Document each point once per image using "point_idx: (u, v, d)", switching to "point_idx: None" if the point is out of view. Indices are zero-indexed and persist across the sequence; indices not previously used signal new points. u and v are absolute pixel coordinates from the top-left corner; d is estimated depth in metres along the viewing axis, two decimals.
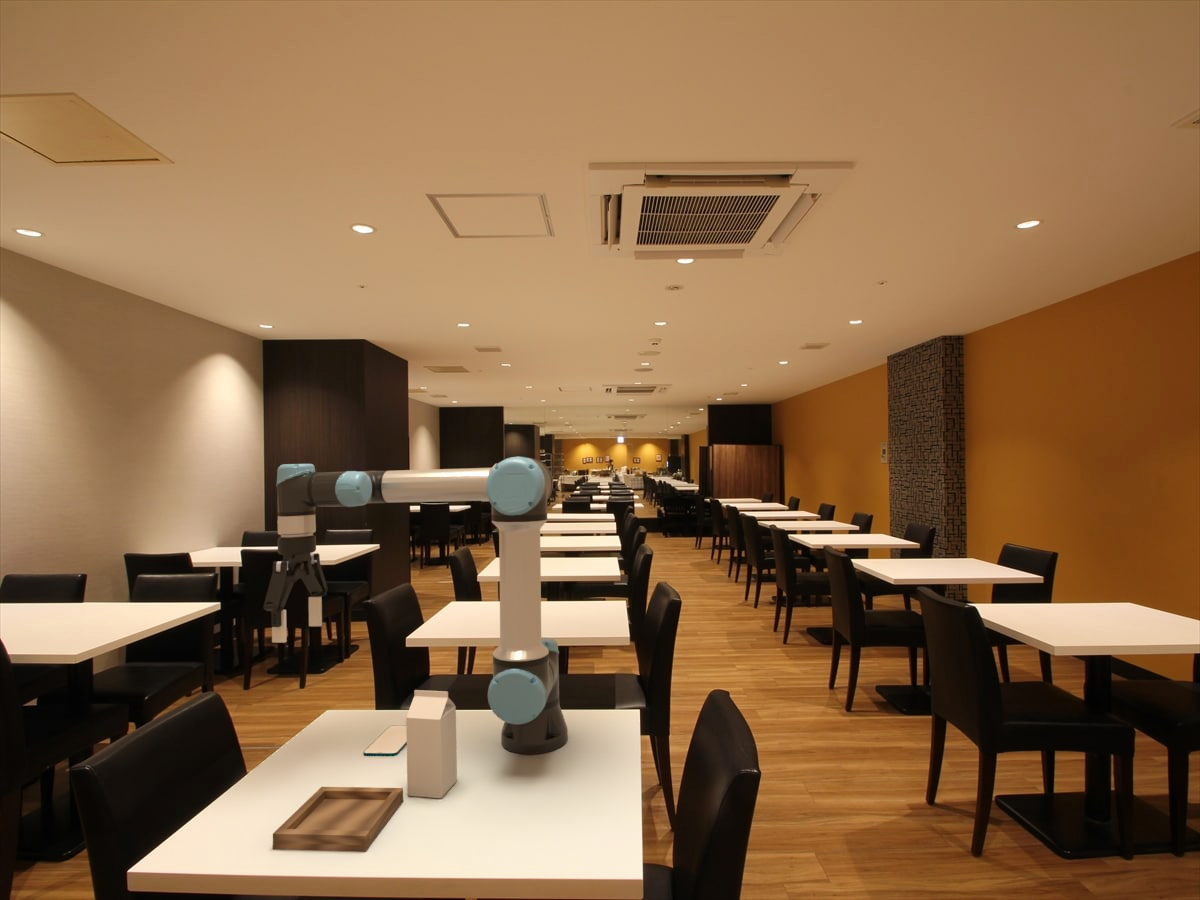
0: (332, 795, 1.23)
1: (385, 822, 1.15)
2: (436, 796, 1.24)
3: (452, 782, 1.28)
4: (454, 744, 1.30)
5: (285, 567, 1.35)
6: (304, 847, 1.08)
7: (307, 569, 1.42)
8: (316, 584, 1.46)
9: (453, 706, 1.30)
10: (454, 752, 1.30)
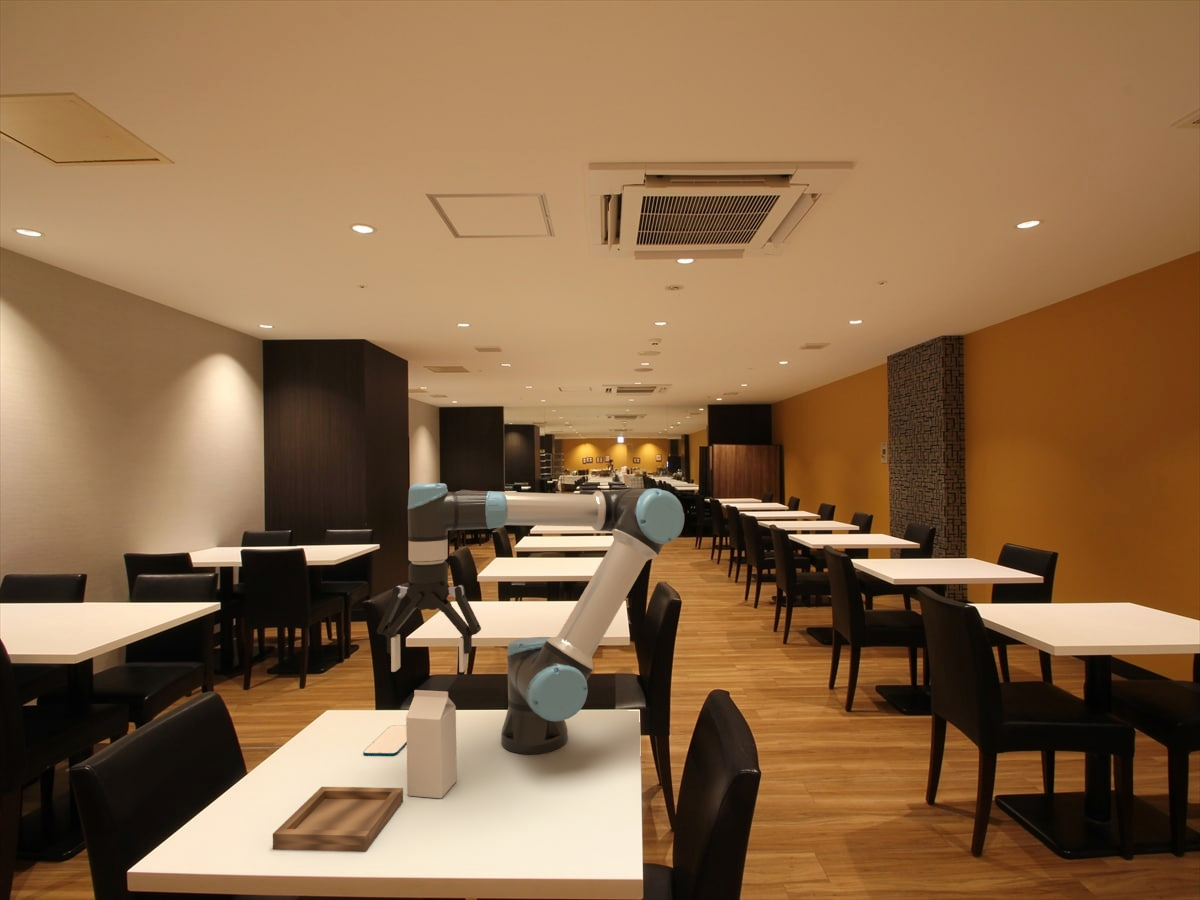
0: (332, 795, 1.23)
1: (385, 822, 1.15)
2: (436, 796, 1.24)
3: (452, 782, 1.28)
4: (454, 744, 1.30)
5: (395, 593, 1.28)
6: (304, 847, 1.08)
7: None
8: (453, 622, 1.27)
9: (453, 706, 1.30)
10: (454, 752, 1.30)
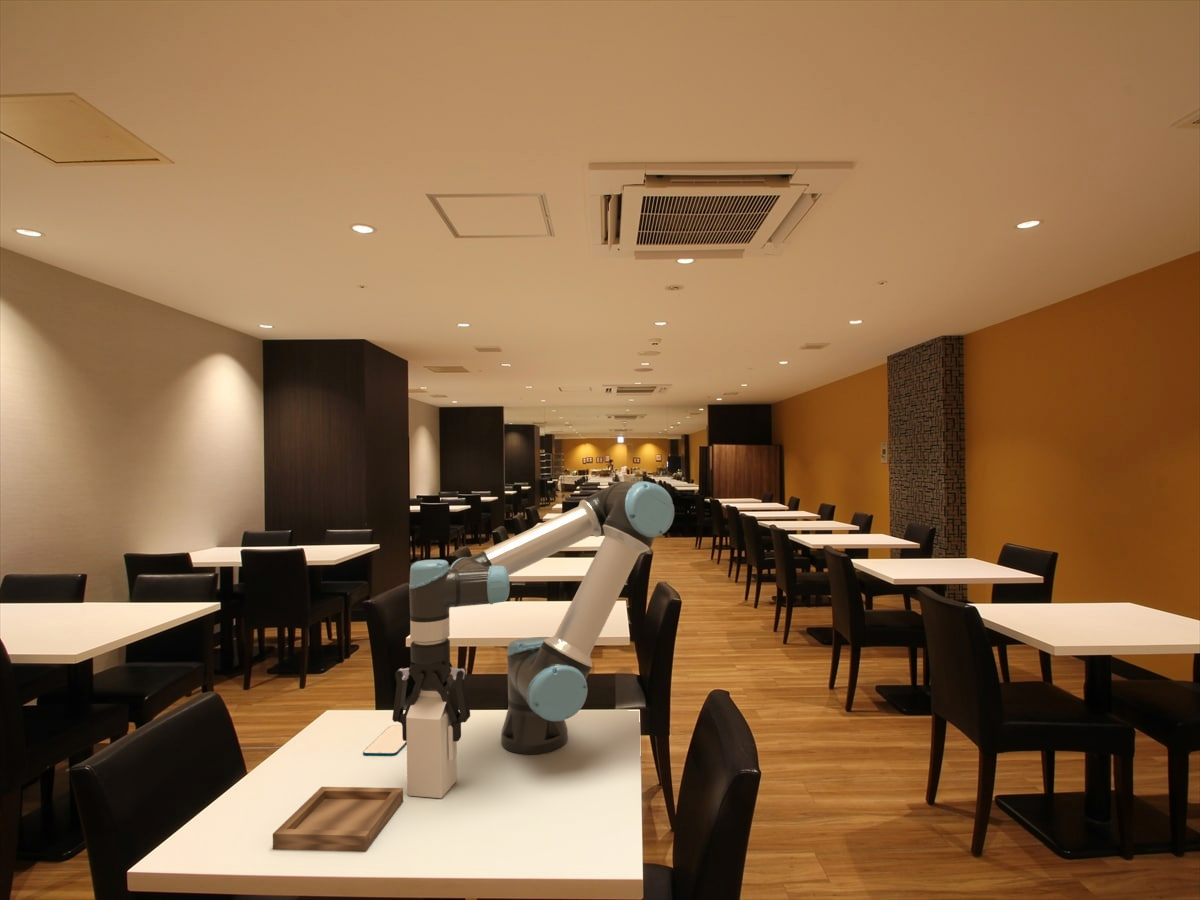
0: (332, 795, 1.23)
1: (385, 822, 1.15)
2: (436, 796, 1.24)
3: (452, 782, 1.28)
4: None
5: (398, 677, 1.28)
6: (304, 847, 1.08)
7: None
8: (447, 707, 1.27)
9: None
10: None
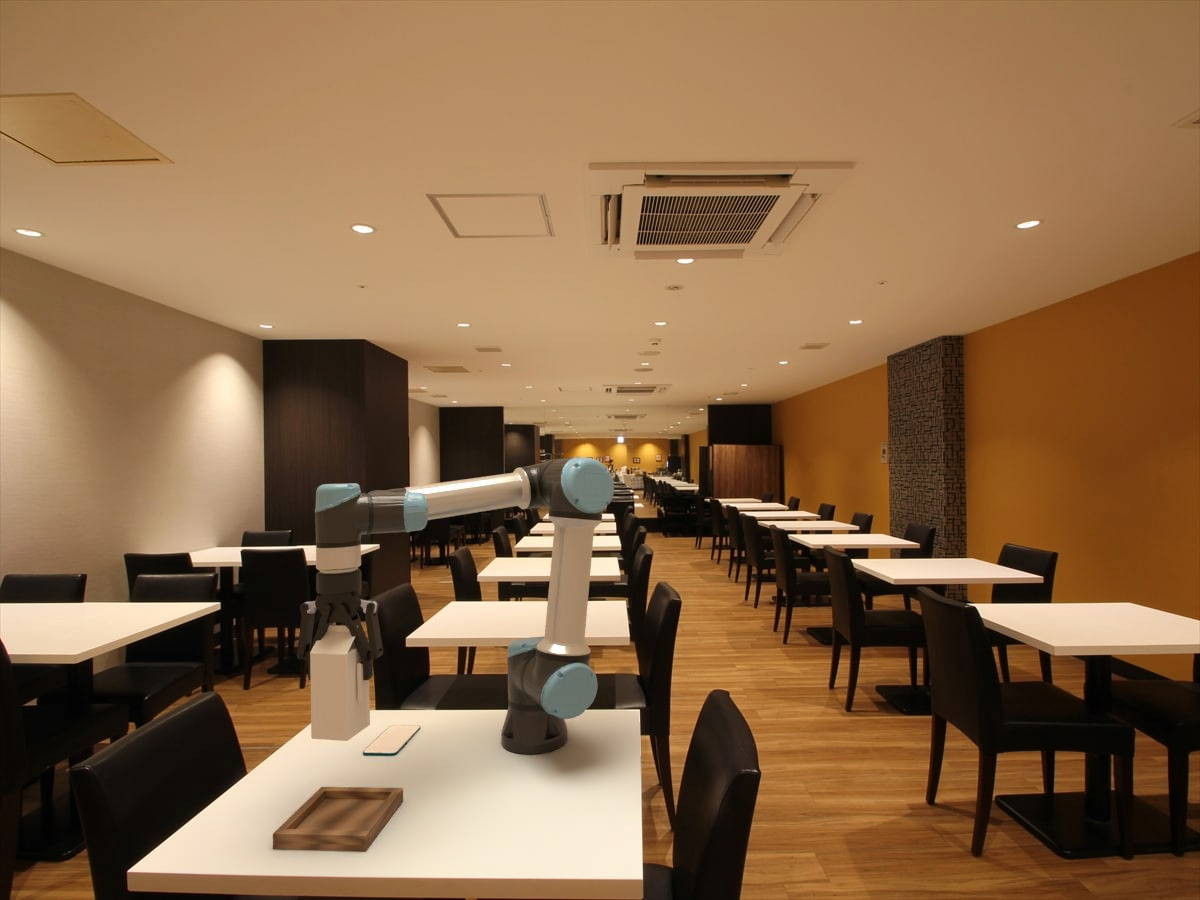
0: (332, 795, 1.23)
1: (385, 822, 1.15)
2: (342, 739, 1.12)
3: (363, 725, 1.17)
4: None
5: (303, 610, 1.16)
6: (304, 847, 1.08)
7: None
8: (356, 642, 1.15)
9: None
10: None
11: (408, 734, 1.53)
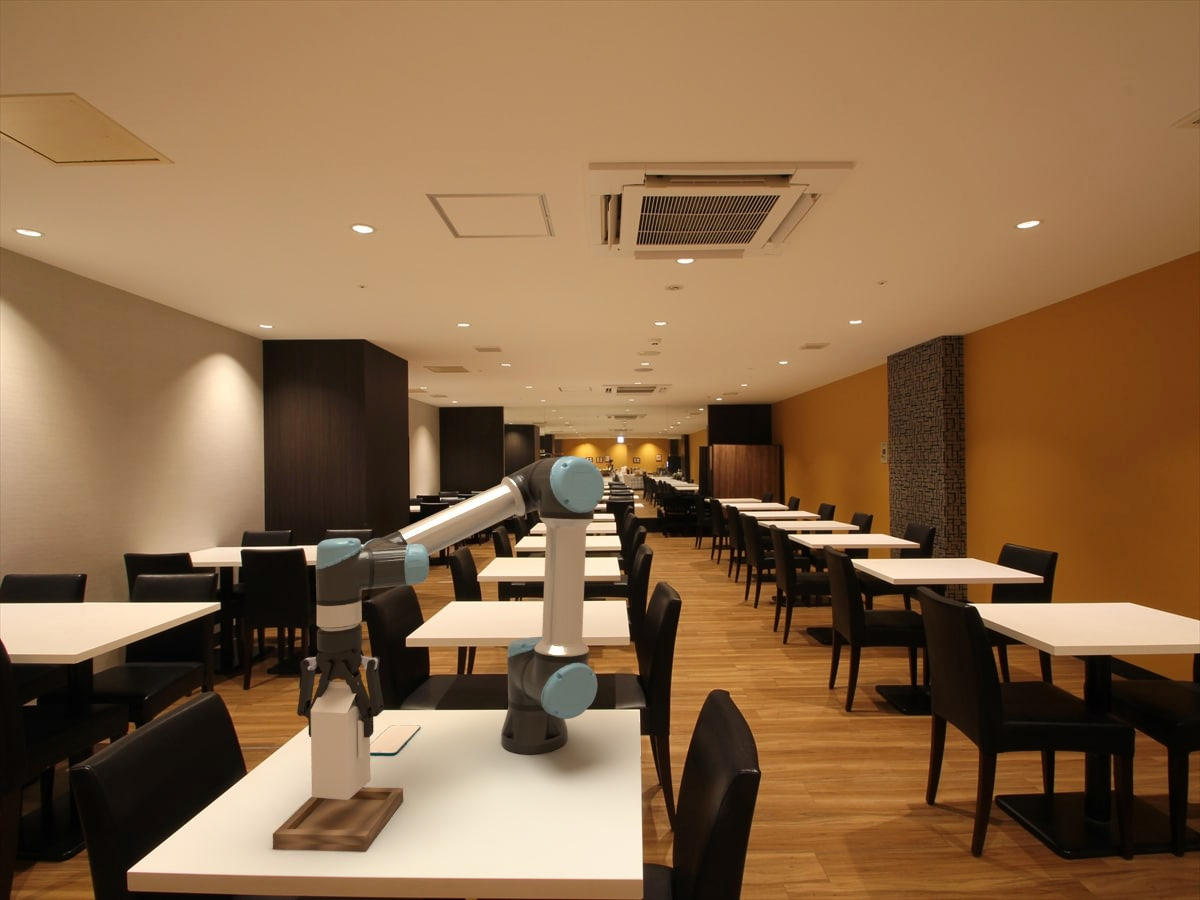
0: None
1: (385, 822, 1.15)
2: (342, 798, 1.12)
3: (364, 782, 1.16)
4: None
5: (304, 667, 1.16)
6: (304, 847, 1.08)
7: None
8: (356, 699, 1.15)
9: None
10: None
11: (408, 734, 1.53)
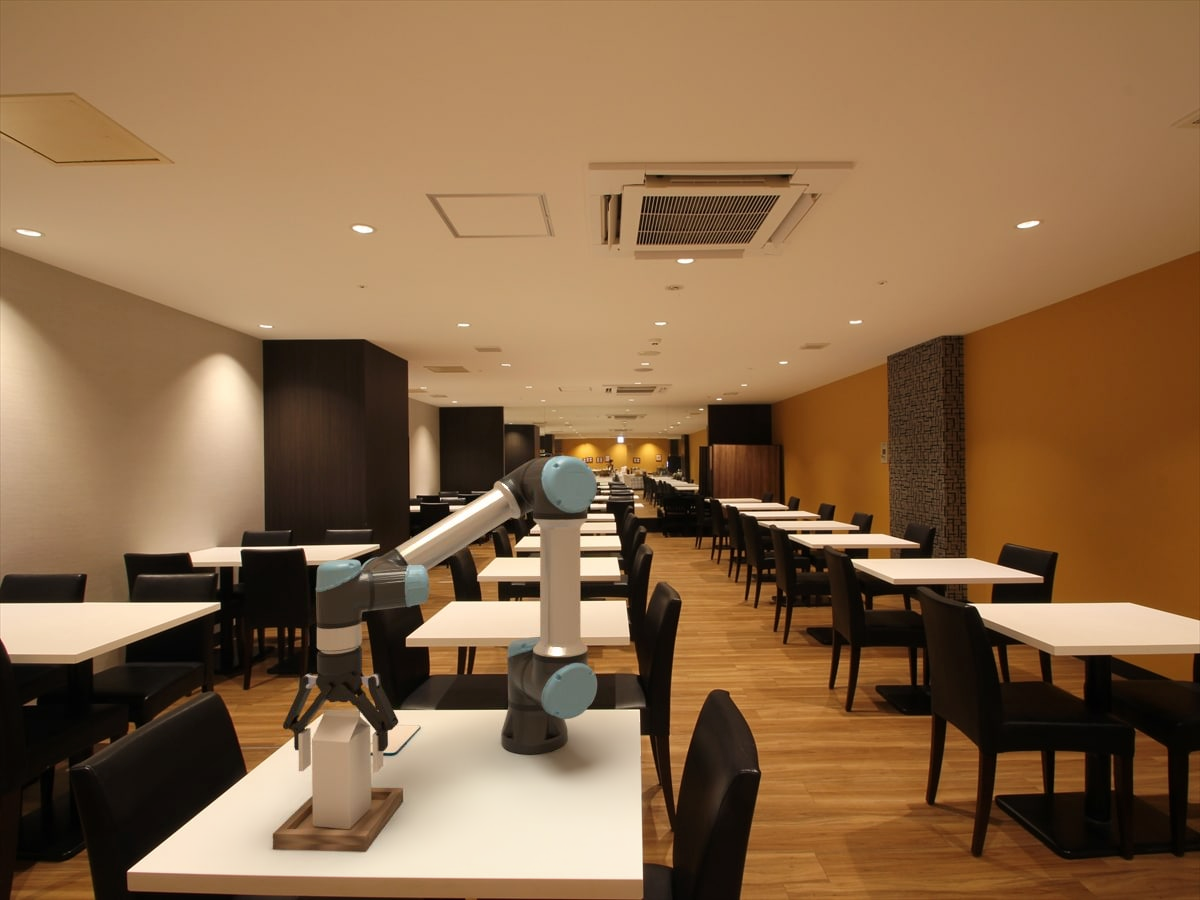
0: None
1: (385, 822, 1.15)
2: (344, 827, 1.12)
3: (365, 810, 1.16)
4: (368, 768, 1.18)
5: (303, 684, 1.16)
6: (304, 847, 1.08)
7: None
8: (366, 716, 1.15)
9: (367, 726, 1.18)
10: (368, 776, 1.18)
11: (408, 734, 1.53)
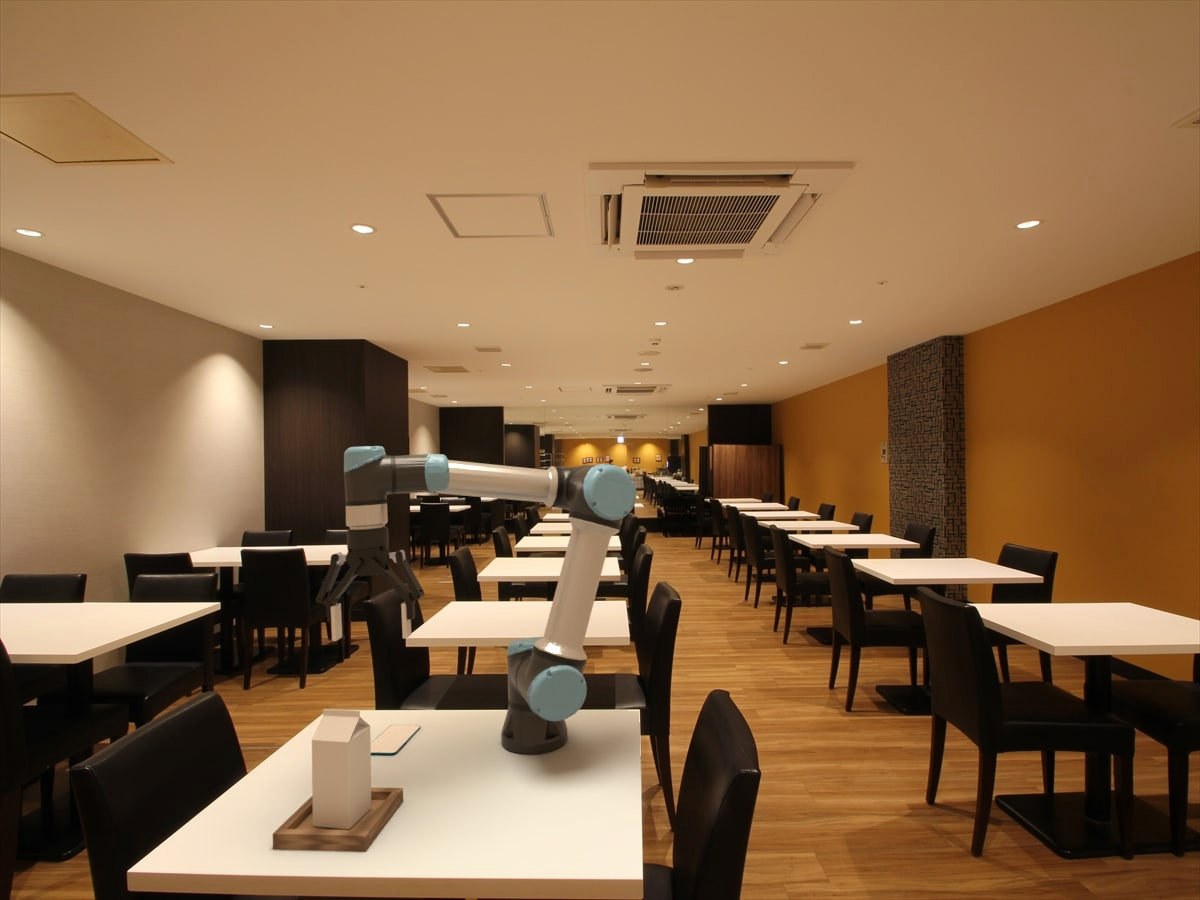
0: None
1: (385, 822, 1.15)
2: (344, 827, 1.12)
3: (365, 810, 1.16)
4: (368, 768, 1.18)
5: (333, 560, 1.24)
6: (304, 847, 1.08)
7: None
8: (395, 587, 1.23)
9: (367, 726, 1.18)
10: (368, 776, 1.18)
11: (408, 734, 1.53)
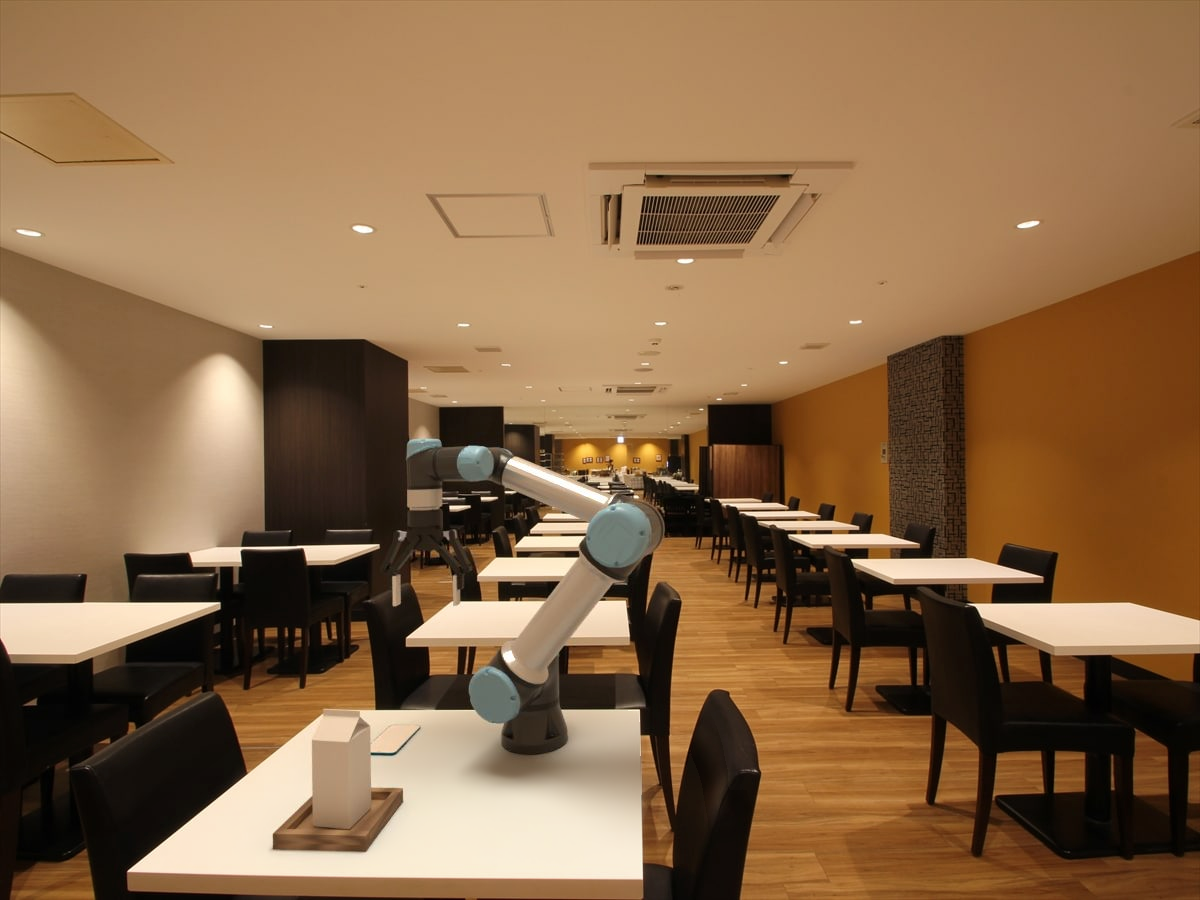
0: None
1: (385, 822, 1.15)
2: (344, 827, 1.12)
3: (365, 810, 1.16)
4: (368, 768, 1.18)
5: (395, 536, 1.44)
6: (304, 847, 1.08)
7: None
8: (448, 561, 1.43)
9: (367, 726, 1.18)
10: (368, 776, 1.18)
11: (408, 734, 1.53)
